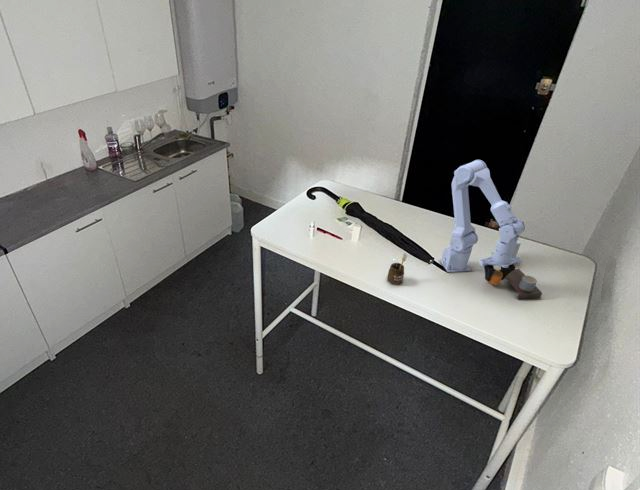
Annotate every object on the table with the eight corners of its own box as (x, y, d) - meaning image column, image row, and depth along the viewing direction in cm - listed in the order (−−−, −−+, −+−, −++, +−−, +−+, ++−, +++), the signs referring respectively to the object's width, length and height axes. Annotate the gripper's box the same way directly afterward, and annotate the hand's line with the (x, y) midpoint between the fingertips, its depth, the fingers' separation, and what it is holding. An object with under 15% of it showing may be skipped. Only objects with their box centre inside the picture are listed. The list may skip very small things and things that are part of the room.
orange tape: (490, 284, 154) (493, 277, 152) (484, 277, 158) (486, 269, 156) (502, 284, 154) (505, 276, 152) (496, 276, 158) (499, 268, 156)
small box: (513, 265, 167) (521, 243, 161) (498, 263, 168) (506, 242, 162) (507, 254, 173) (515, 233, 167) (493, 253, 174) (500, 232, 168)
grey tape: (523, 292, 149) (526, 283, 147) (516, 283, 153) (519, 275, 150) (536, 291, 149) (539, 283, 147) (528, 283, 153) (532, 275, 150)
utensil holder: (384, 278, 163) (388, 254, 156) (396, 274, 165) (401, 249, 158) (393, 286, 159) (398, 261, 152) (406, 282, 161) (411, 257, 154)
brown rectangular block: (518, 299, 149) (520, 294, 148) (497, 275, 162) (499, 269, 160) (539, 298, 149) (542, 292, 148) (516, 273, 162) (519, 268, 160)
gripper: (490, 257, 145) (480, 287, 152) (530, 255, 145) (518, 284, 152) (480, 246, 150) (471, 275, 158) (519, 244, 150) (508, 273, 158)
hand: (493, 279), depth 156 cm, fingers closed on orange tape, 5 cm apart
